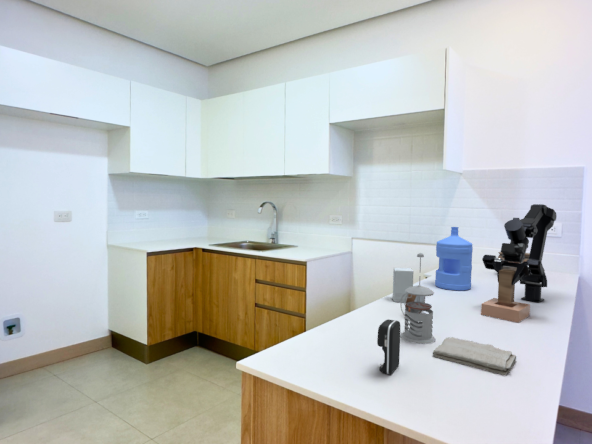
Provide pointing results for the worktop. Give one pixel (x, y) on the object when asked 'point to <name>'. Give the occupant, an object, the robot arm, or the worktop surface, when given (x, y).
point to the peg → (506, 286)
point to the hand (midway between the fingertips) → (505, 283)
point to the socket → (505, 310)
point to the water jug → (454, 262)
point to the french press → (418, 315)
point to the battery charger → (389, 344)
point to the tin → (415, 300)
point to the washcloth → (475, 355)
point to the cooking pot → (511, 267)
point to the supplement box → (401, 283)
